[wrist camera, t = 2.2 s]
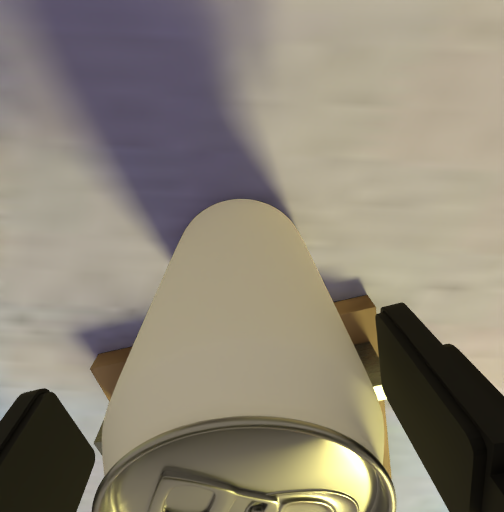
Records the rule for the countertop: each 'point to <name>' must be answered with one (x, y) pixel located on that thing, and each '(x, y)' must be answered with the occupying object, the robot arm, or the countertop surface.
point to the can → (243, 384)
